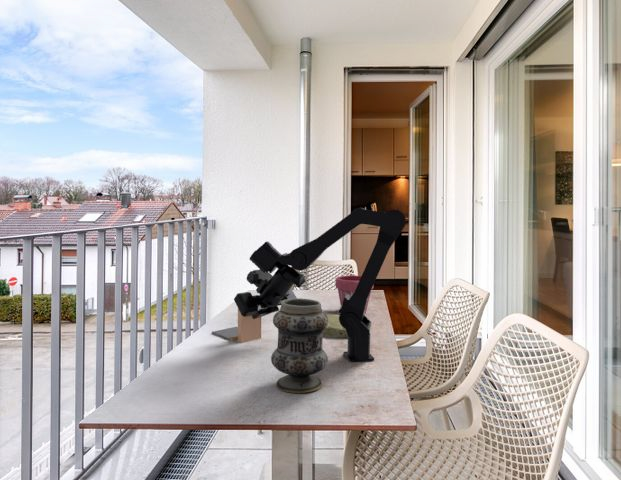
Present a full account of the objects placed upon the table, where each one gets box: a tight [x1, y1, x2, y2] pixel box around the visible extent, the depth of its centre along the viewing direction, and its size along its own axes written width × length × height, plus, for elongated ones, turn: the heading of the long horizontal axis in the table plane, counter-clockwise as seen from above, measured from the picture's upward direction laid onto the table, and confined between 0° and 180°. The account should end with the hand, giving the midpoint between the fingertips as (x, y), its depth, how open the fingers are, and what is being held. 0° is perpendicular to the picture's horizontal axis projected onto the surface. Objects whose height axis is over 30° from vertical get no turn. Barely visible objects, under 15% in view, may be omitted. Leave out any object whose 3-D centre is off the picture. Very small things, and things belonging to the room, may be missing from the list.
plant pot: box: [334, 274, 375, 314], centre depth 164 cm, size 14×14×13 cm
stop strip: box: [229, 335, 238, 343], centre depth 129 cm, size 1×10×1 cm, turn 135°
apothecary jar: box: [270, 297, 329, 394], centre depth 94 cm, size 12×12×18 cm
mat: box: [211, 326, 238, 341], centre depth 133 cm, size 10×9×1 cm
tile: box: [237, 308, 262, 344], centre depth 127 cm, size 2×7×10 cm, turn 136°
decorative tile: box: [322, 313, 348, 339], centre depth 140 cm, size 19×20×4 cm
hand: (253, 317), depth 125 cm, fingers closed
